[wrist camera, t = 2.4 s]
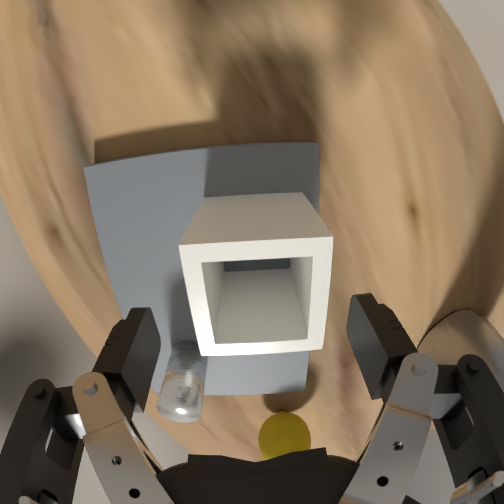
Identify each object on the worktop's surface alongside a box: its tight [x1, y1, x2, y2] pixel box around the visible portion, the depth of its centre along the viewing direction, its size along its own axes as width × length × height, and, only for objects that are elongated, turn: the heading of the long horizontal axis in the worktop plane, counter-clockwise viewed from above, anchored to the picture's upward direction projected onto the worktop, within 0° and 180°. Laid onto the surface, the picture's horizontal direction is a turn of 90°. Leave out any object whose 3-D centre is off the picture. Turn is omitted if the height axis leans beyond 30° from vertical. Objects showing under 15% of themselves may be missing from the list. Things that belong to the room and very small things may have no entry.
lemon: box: [259, 411, 311, 460], centre depth 26 cm, size 6×6×8 cm
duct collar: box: [178, 192, 333, 356], centre depth 15 cm, size 6×6×7 cm
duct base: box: [84, 142, 319, 395], centre depth 22 cm, size 15×22×2 cm
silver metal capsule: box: [157, 340, 209, 423], centre depth 20 cm, size 3×3×6 cm
